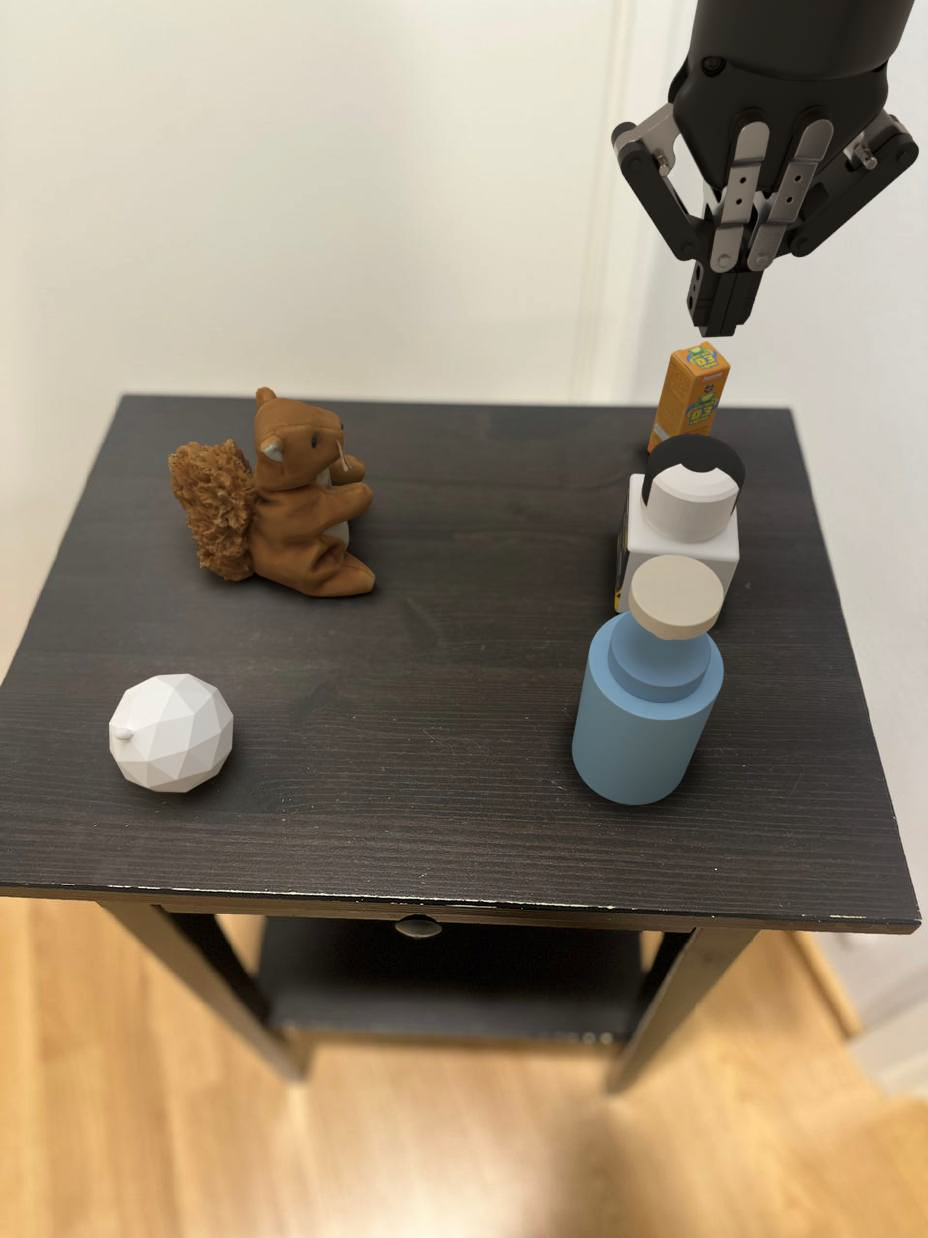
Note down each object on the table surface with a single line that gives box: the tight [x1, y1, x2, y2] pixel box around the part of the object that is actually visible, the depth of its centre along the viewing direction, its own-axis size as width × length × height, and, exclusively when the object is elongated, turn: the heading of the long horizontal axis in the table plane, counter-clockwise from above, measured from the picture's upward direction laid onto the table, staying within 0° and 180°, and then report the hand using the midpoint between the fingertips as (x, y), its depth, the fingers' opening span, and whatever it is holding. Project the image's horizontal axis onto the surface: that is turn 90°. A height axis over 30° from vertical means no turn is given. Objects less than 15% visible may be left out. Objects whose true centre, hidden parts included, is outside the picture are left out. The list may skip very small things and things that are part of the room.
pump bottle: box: [571, 611, 725, 806], centre depth 50 cm, size 7×7×12 cm
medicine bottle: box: [614, 434, 746, 614], centre depth 58 cm, size 7×7×12 cm
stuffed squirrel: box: [167, 386, 376, 598], centre depth 60 cm, size 10×14×13 cm
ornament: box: [108, 673, 234, 793], centre depth 52 cm, size 7×7×8 cm
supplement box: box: [647, 341, 732, 454], centre depth 67 cm, size 3×3×10 cm
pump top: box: [628, 555, 725, 640], centre depth 43 cm, size 4×4×3 cm
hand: (713, 326), depth 43 cm, fingers closed
